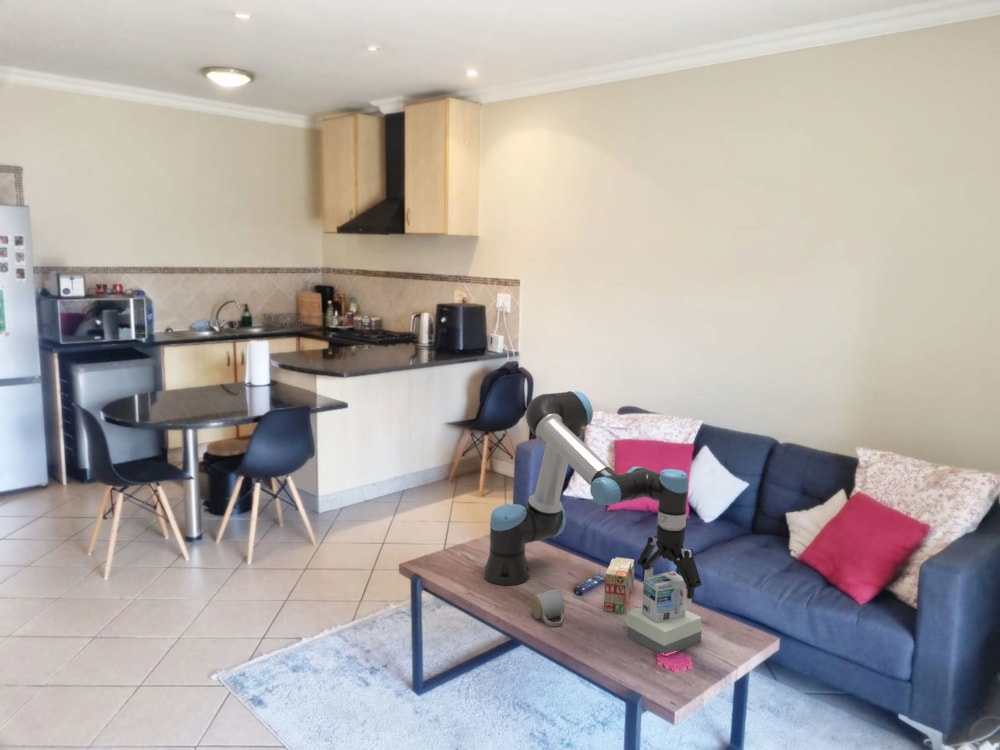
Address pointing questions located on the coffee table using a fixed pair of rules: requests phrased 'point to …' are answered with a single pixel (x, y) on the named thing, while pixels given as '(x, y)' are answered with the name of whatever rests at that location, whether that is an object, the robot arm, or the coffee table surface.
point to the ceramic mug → (548, 606)
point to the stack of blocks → (618, 584)
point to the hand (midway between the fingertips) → (666, 599)
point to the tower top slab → (664, 626)
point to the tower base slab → (660, 648)
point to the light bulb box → (663, 596)
